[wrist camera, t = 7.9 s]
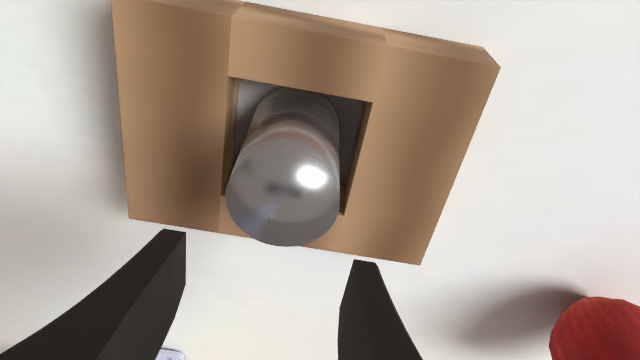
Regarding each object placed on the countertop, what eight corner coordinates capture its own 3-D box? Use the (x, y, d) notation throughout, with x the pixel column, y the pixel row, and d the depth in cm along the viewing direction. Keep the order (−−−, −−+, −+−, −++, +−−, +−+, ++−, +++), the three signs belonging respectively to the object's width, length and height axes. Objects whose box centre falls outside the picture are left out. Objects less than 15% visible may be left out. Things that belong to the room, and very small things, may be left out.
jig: (148, 188, 23) (128, 218, 21) (138, -19, 17) (110, -7, 15) (413, 232, 24) (419, 265, 22) (482, 47, 18) (500, 67, 16)
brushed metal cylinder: (251, 158, 22) (224, 239, 17) (255, 80, 19) (226, 146, 14) (332, 168, 22) (330, 252, 17) (345, 92, 20) (348, 161, 15)
